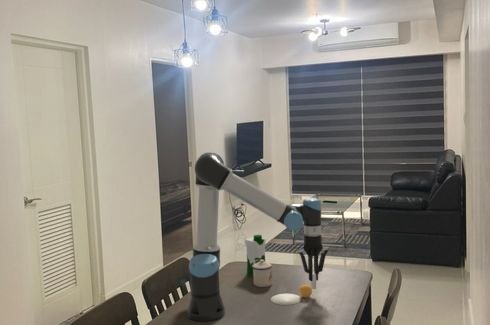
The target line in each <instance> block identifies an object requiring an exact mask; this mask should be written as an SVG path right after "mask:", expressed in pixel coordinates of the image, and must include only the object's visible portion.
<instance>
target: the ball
mask: <svg viewBox="0 0 490 325" xmlns="http://www.w3.org/2000/svg"><path fill="white" fill-rule="evenodd" d="M298 290H299V291H298V292H299V296H300V297H301V298H306V299H307V298H309V297H311V296H312V294H313V289H312V287H311V285H309V284H303V285H301V286H300V287H299V289H298Z"/></svg>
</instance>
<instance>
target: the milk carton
mask: <svg viewBox="0 0 490 325" xmlns="http://www.w3.org/2000/svg"><path fill="white" fill-rule="evenodd" d="M266 240H267V239H266V238H263V236H262V234H256V235H255V234H254V235H253V237H249V238H246V239H244V243H245V247H246V266H247V267H246V275H248V276H251V277H253V265H254V264H256V263H258V262H260V260H264V262H266V249H265V248H266V242H267V241H266Z"/></svg>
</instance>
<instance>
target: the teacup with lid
mask: <svg viewBox="0 0 490 325" xmlns="http://www.w3.org/2000/svg"><path fill="white" fill-rule="evenodd" d="M272 268H273V265H272V264H271V263H270V262H267V261H265V262H264V260H260V262H258V263H256V264H254V265H253V276H252V277H253V285H254V286H256V287H258V288H259V287H260V288H264V287H269V286H271V285H272V284H273V277H272V276H273V275H272Z"/></svg>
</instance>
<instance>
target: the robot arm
mask: <svg viewBox="0 0 490 325" xmlns="http://www.w3.org/2000/svg"><path fill="white" fill-rule="evenodd" d="M194 174H195V182H194V183H195V186H196V187H197V188H198V199H197V201H198V205H197V206H198V207H197V226H196V227H197V232H196V244H194V245H193V247H192V257H191V258H190V259H189V263H188V272H189V282H190V285H189V286H190V299H189V304H188V308H187V317H188V318H189V319H190V320H192V321H195V322H211V321H216V320H219V319H221V318H222V317H223V316H225V315H226V307H225V305H224V302H223V299H222V297H221V294H220V293H221V292H220V291H221V290H220V275H219V274H220V267H221V259H220V258H221V246H219V245H218V223H219V222H218V221H219V203H220V201H219V198H220V197H219V196H220V191H222V190H223V191H225V192H227V193H229V194H230V195H232V196H234V197H236V198H237V199H239V200H240V201H242V202H244V203H246V204H248V205H249V206H250V207H253V208H254V209H256V210H257V211H260V212H262V213H263V214H265V215H266V216H268V217H270V218H272V219H274V220H275V221H276V222H277V223H279V224H280V223H281V224H282V226H285V228H287V229H288V230H290V231H297V230H299V229H301V228H302V226H303V234H304V235H303V246H302V249H301V250H298V251H297V253H298V254H299V257H300V259H301V263H302V267H303V271H304V273H306V274H308V280H309V282H310V287H311V289H312V290H316V289H317V281H319V274H320V273H322V272H323V269H324V264H325V259H326V255H327V254H328V252H329V251H328V249H326V248H324V247H323V244H322V240H323V239H322V235H321V234H322V205H321V200H320V199H319V198H316V197H315V198H313V197H310V198H309V197H308V198H304V199H303V201H302V203H298V204H297V203H292V204H291V203H290V204H286V203H284V202H282V201H281V200H279V199H278V198H275V197H274V196H272V195H271V194H269V193H267V192H266V191H263V190H262V189H261V188H259V187H257V186H255V185H254V184H252V183H250V182H249V181H247V180H245V179H243V178H242V177H240V176H238V175H237V174H235V173H233V169H232V168H229V167H228V166H227V165H225V163H224V160H223V158H222V157H221V156H220V155H219V154H217V153H216V152H210V151H209V152H204V153H202V154H201V155H200V156H199V157H198V158H197V160H196V162H195V164H194ZM305 254H307V260H306V256H305ZM319 256H320V257H319ZM307 262H308V263H307Z"/></svg>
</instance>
